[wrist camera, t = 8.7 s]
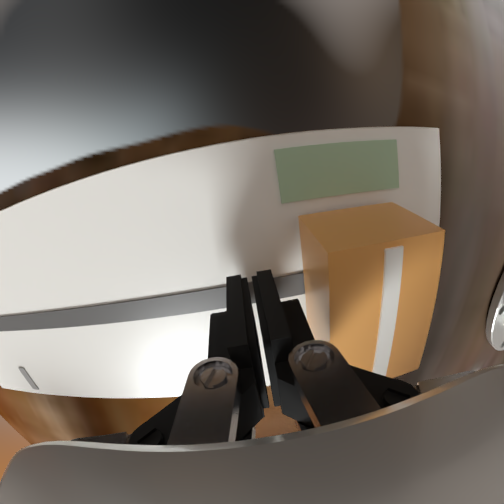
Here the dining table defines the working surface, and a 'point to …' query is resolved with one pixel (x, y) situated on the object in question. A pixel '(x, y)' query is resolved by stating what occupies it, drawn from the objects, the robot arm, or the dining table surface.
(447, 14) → the dining table surface
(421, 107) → the dining table surface
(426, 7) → the dining table surface
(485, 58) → the dining table surface
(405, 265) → the fader knob
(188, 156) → the console board
